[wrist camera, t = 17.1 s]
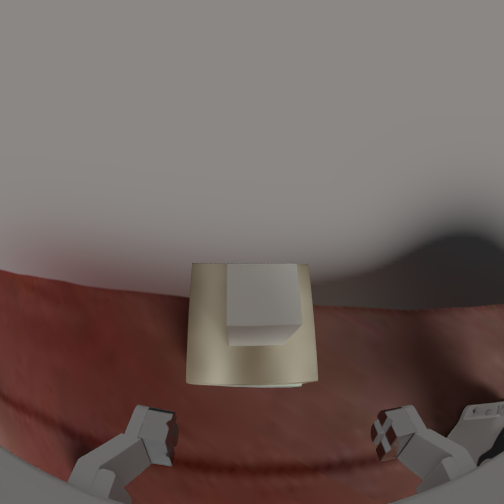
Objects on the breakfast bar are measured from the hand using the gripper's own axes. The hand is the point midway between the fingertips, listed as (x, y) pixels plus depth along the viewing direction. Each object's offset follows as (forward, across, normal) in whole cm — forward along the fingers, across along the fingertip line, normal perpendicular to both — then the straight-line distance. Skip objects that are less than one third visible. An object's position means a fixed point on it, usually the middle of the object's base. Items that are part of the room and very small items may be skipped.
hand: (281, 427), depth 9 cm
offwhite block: (+16, 0, +5) cm, 17 cm away
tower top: (+21, +1, +9) cm, 22 cm away
